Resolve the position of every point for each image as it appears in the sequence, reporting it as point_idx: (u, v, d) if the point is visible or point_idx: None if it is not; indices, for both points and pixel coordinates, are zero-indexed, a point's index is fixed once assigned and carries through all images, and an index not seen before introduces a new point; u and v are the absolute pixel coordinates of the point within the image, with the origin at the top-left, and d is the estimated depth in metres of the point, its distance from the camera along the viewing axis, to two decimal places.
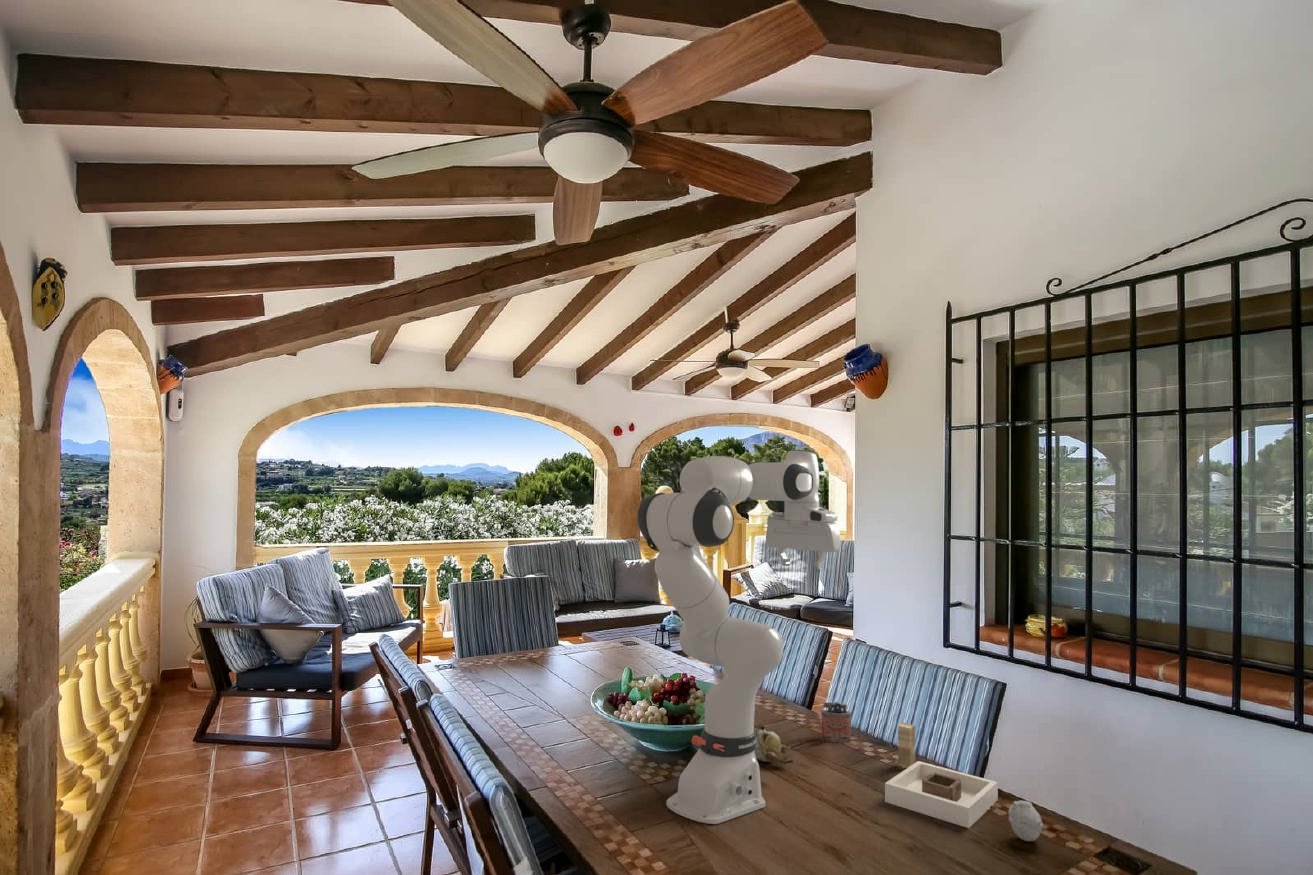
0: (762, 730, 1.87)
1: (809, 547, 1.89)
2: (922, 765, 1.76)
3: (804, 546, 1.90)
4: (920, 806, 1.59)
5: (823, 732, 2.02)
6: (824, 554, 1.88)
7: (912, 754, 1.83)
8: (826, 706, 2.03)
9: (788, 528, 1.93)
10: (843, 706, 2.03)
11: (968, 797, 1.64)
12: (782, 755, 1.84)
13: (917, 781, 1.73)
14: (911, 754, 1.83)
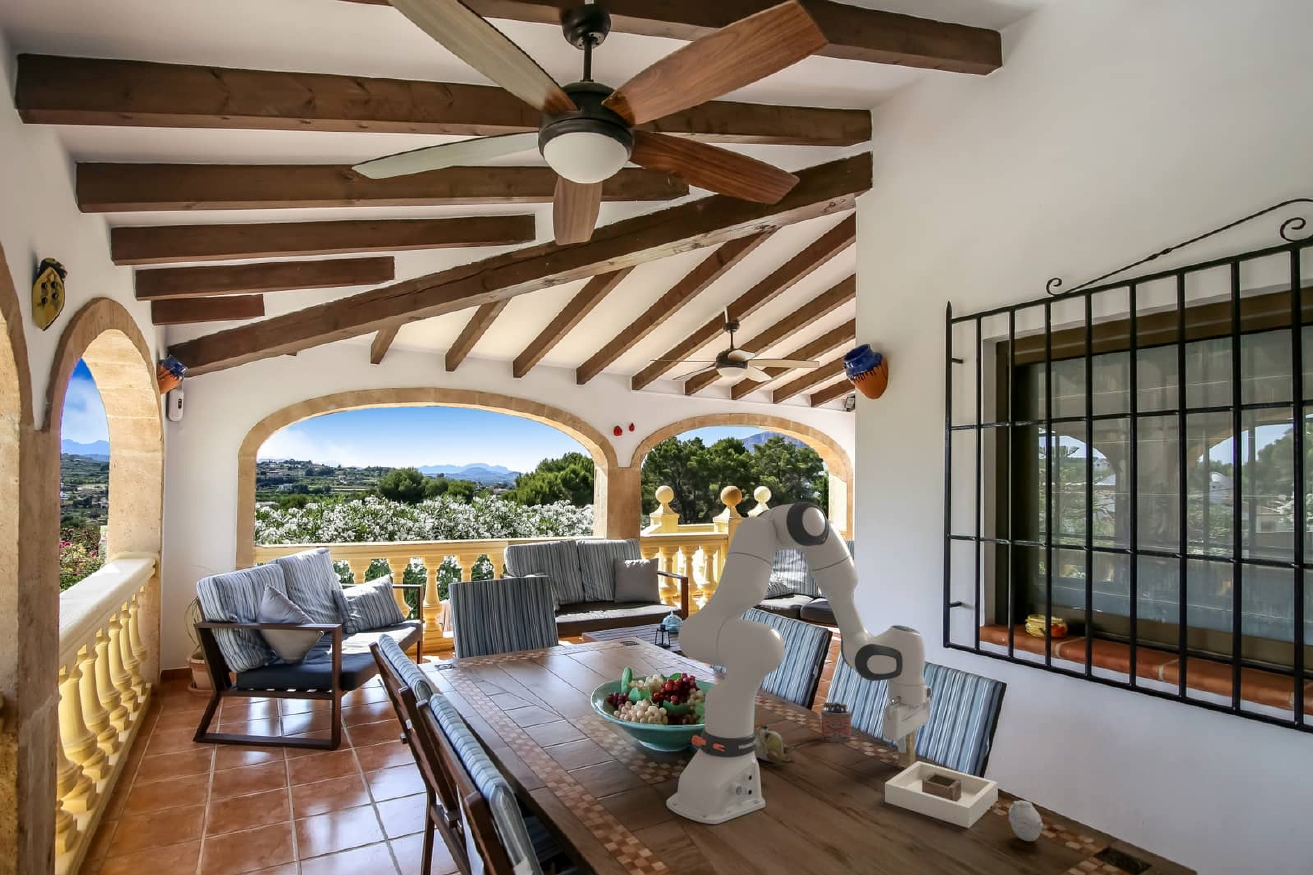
0: (764, 730, 1.87)
1: (919, 725, 1.86)
2: (922, 765, 1.76)
3: (916, 726, 1.85)
4: (920, 806, 1.59)
5: (823, 732, 2.02)
6: None
7: (912, 754, 1.83)
8: (826, 706, 2.03)
9: (907, 713, 1.82)
10: (843, 706, 2.03)
11: (968, 797, 1.64)
12: (784, 755, 1.84)
13: (917, 781, 1.73)
14: (911, 754, 1.83)
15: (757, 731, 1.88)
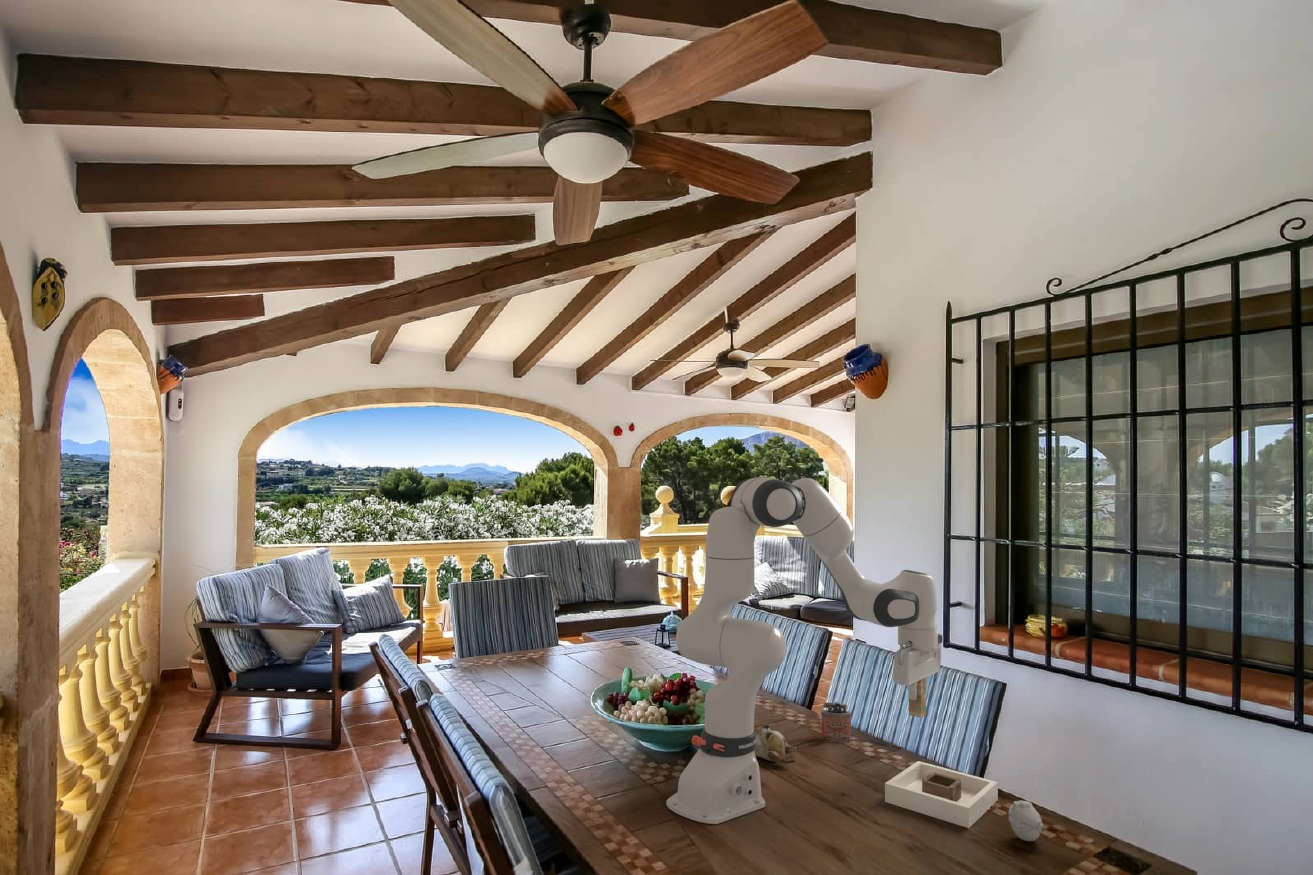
0: (766, 729, 1.88)
1: (930, 673, 1.80)
2: (922, 765, 1.76)
3: (927, 673, 1.79)
4: (920, 806, 1.59)
5: (823, 732, 2.02)
6: None
7: (923, 701, 1.77)
8: (826, 706, 2.03)
9: (918, 658, 1.76)
10: (843, 706, 2.03)
11: (968, 797, 1.64)
12: (785, 755, 1.84)
13: (917, 781, 1.73)
14: (922, 701, 1.77)
15: (759, 730, 1.88)
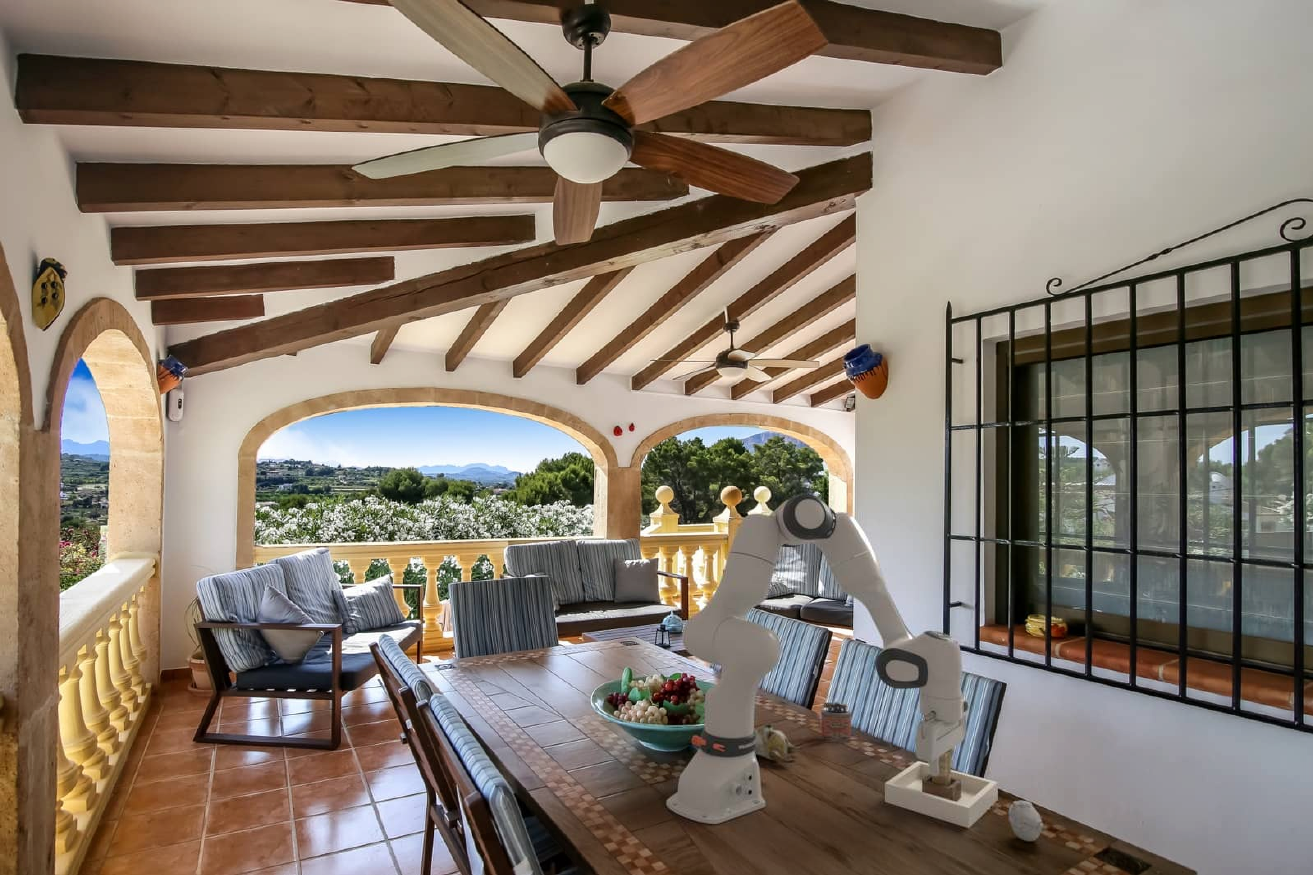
0: (768, 729, 1.88)
1: (955, 744, 1.67)
2: (922, 765, 1.76)
3: (952, 744, 1.66)
4: (920, 806, 1.59)
5: (823, 732, 2.02)
6: None
7: (947, 782, 1.64)
8: (826, 706, 2.03)
9: (942, 730, 1.62)
10: (843, 706, 2.03)
11: (968, 797, 1.64)
12: (786, 754, 1.84)
13: (917, 781, 1.73)
14: (947, 783, 1.63)
15: (761, 729, 1.89)
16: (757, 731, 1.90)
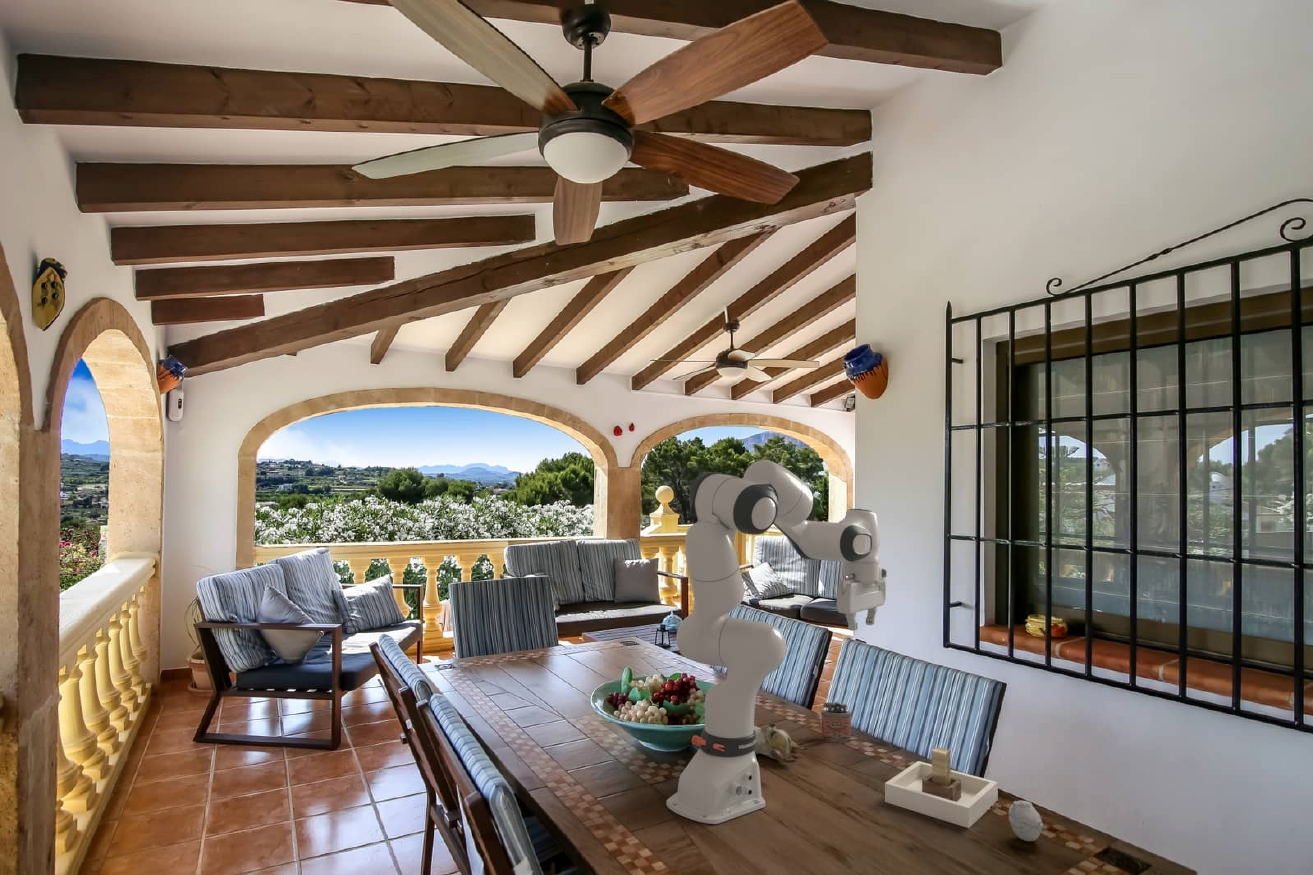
0: (771, 728, 1.89)
1: (874, 605, 1.92)
2: (922, 765, 1.76)
3: (871, 605, 1.90)
4: (920, 806, 1.59)
5: (823, 732, 2.02)
6: None
7: (947, 782, 1.64)
8: (826, 706, 2.03)
9: (861, 590, 1.87)
10: (843, 706, 2.03)
11: (968, 797, 1.64)
12: (787, 754, 1.85)
13: (917, 781, 1.73)
14: (947, 783, 1.63)
15: (764, 728, 1.90)
16: (761, 730, 1.91)
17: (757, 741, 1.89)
